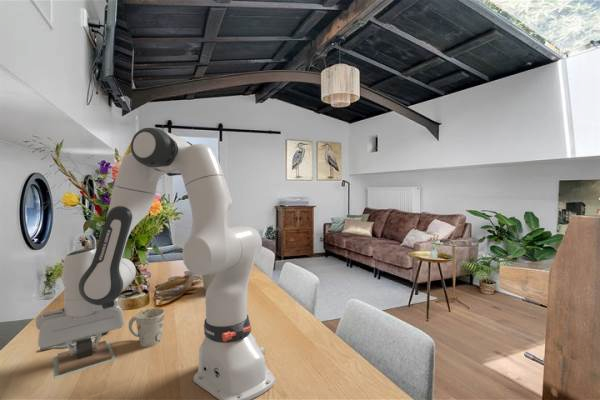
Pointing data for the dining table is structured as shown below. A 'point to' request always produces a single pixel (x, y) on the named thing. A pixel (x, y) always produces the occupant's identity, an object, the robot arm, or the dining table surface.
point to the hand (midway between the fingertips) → (84, 351)
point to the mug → (148, 326)
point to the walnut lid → (83, 356)
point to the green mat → (56, 368)
